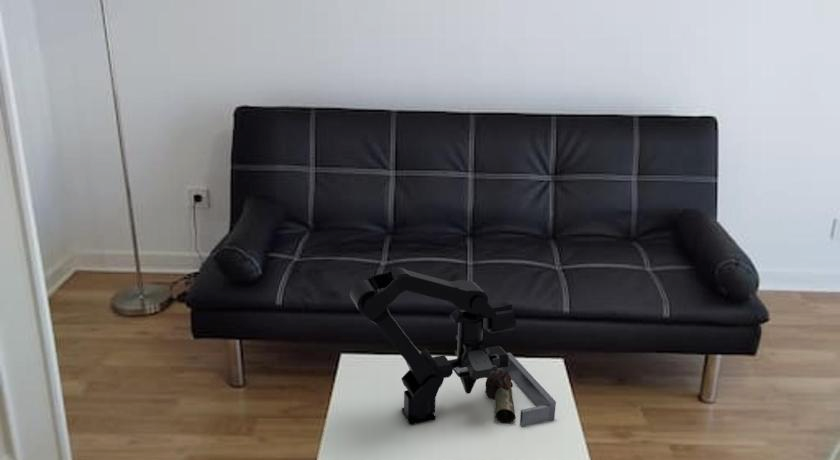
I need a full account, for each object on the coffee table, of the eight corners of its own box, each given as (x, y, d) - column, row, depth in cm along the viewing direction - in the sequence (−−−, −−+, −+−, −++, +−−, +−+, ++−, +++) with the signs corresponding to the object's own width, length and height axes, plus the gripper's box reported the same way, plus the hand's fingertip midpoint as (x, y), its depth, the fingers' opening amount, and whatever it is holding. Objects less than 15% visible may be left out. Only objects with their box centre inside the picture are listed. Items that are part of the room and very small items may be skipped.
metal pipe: (515, 425, 181) (516, 404, 179) (486, 424, 182) (487, 403, 180) (511, 383, 198) (512, 364, 196) (484, 383, 198) (485, 363, 196)
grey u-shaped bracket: (521, 426, 180) (523, 408, 178) (479, 374, 201) (480, 357, 199) (554, 420, 183) (555, 401, 181) (509, 369, 204) (510, 352, 202)
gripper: (445, 358, 171) (443, 418, 177) (522, 345, 177) (518, 403, 183) (427, 335, 181) (426, 393, 186) (500, 323, 187) (497, 379, 192)
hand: (467, 392), depth 187 cm, fingers closed
